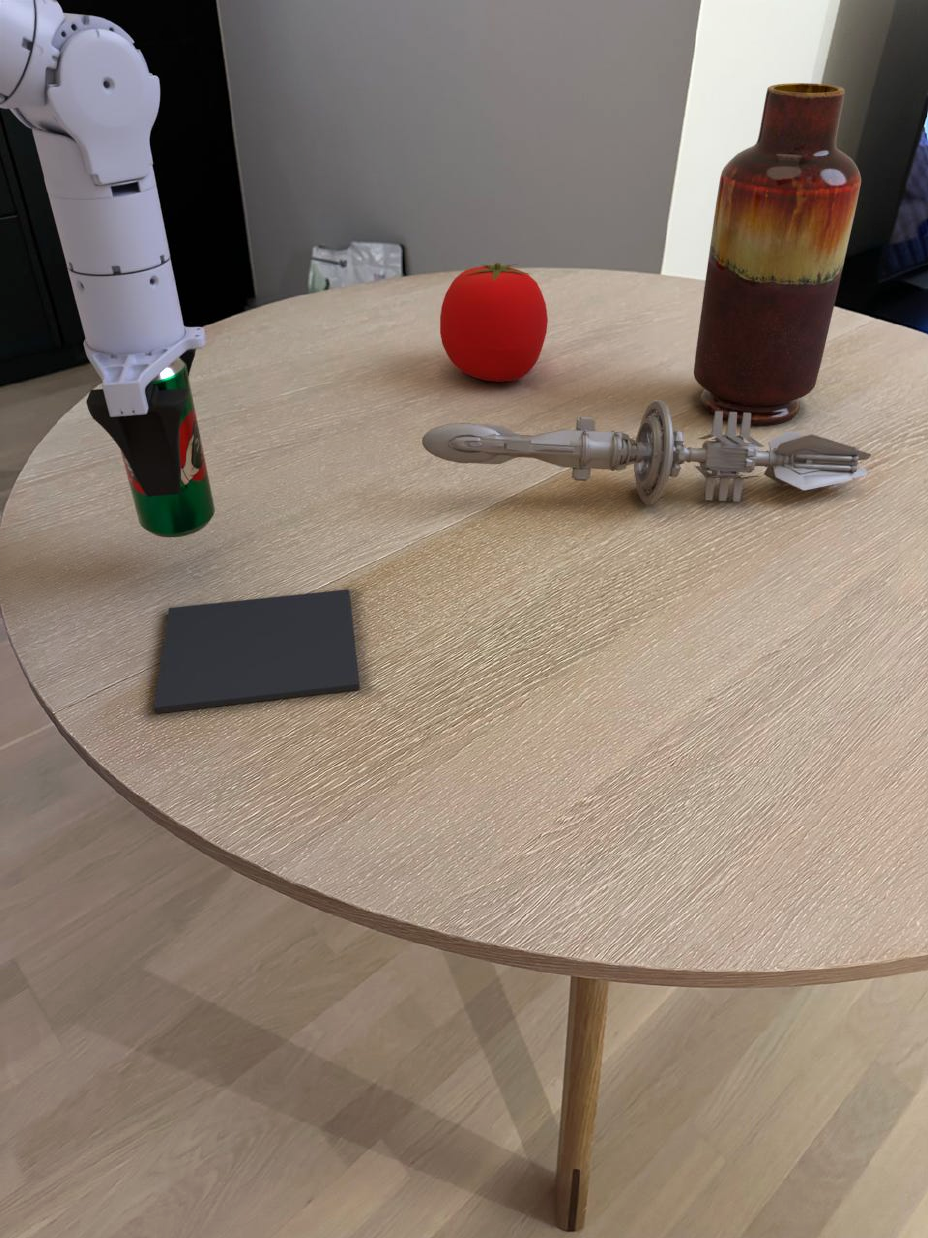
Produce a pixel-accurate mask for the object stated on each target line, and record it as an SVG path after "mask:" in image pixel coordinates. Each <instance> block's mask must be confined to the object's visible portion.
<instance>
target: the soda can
mask: <svg viewBox="0 0 928 1238" xmlns="http://www.w3.org/2000/svg"><path fill="white" fill-rule="evenodd" d="M152 383H153V387H154V386H155V385H157V386H158V390H173V389H186V388H187V389H188V394H187V399H186V403H185V406H184V409H183V413H182V416H181V421H180V458H181V484H180V491H179V494H174V495H163V496H151V497H148V496H147V495H146V494H145V492H144V491H143V489H142V488H141V486H140V484H139V482H138V480H137V479H136V477H135V475H134V473H133V471H132V469H131V467H130V465H129V463H128V461H127V460H126V458H125V456H124V454H123V452H122V451H121V449H120V448H119V451H120V453H121V457H122V461H123V465H124V469H125V472H126V476H127V481H128V485H129V488H130V492H131V496H132V500H133V504H134V508H135V511H136V512H135V513H136V515H137V519H138V523H139V525H140V527H141V528H143V529H144V530H146V531H147V532H148V533H150V534H152V535H154V536H156V537H159V538H160V537H161V538H168V539H169V538H170V539H171V538H181V537H186V536H189V535H193V534H195V533H197V532H199V531H201V530H203V529H205V527H206V526H207V525H209V523H210V522H211V520H212V519H213V517H214V515H215V512H216V508H215V502H214V498H213V493H212V488H211V482H210V477H209V472H208V468H207V462H206V458H205V457H206V456H205V453H204V448H203V443H202V442H203V441H202V438H201V431H200V428H199V421H198V418H197V413H196V408H195V402H194V398H193V393H192V388H191V383H190V376H189V377H188V372H187V367H186V364H185V362H184V361H183V360H182V359H181V358H180V357H179V358H177V359H176V360H175V361H174V362H173V363H172V364H170V365H169V366H168V367H167V368H166V369H165V370H163V371H162V372H161V373H160V374H159V375H158V376H156V377H155V378H154V379H153V380H152Z"/></svg>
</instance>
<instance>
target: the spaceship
mask: <svg viewBox="0 0 928 1238" xmlns="http://www.w3.org/2000/svg"><path fill="white" fill-rule="evenodd" d="M641 418H642V419H641V421H640V425H639V427H638V430H637V434H636V438H635V439H633V438H631V437H630V435H629V434H627V433H625V432H623V431H615V430H611V431H602V430H601V431H599V430H595V426H596V420H595V419H593V418H592V417H586V416H581V417H579V418H577V419H576V425H575V429H563V428H562V429H559V430H553V431H549V432H545V433H539V434H534V435H532V434H531V435H530V434H520V433H517V432H515V431H512V430H511V429H509V428H507V427H505V426H504V425H500V424H489V423H487V424H486V423H484V424H483V423H471V422H454V423H447V424H443V425H438V426H435V427H434V428H432V429H429V430H428V431H426V433H425V434H423V436H422V438H421V439H422V440H421V443H422V444H421V445H422V446H423V448H424V449H425V450H426V451H427V452H428V453H429V454H431V455H432V456H434V457H435V458H439V459H442V460H444V461H448V462H452V463H458V464H479V465H480V464H481V465H501V464H504V463H506V462H509V461H512V460H514V459H517V458H524V459H525V458H526V459H535V460H538V461H541V462H545V463H548V464H551V465H554V466H557V467H560V468H568V469H570V468H571V469H572V471H571V478H572V479H573V480H574V481H576V482H587V481H588V480H590V478H591V471H592V470H606V471H607V470H608V471H611V472H615V471H617V472H619V471H623V470H625V469H627V467H628V466H632V465H633V472H634V478H635V484H636V485H635V486H636V489H637V490H636V491H637V493H638V497H639V498H640V500H641V502H643V504H645V505H648V506H651V505H653V504H655V503H657V502H658V501H659V500H660V498H661V497H662V495H663V493H664V490H665V488H666V486H667V483H668V481H669V479H670V477H671V478H677V477H678V476H679V474H680V472H681V469H682V467H681V466H680V465H682V464H685V462H686V463H691V462H692V463H698V464H699V465H694V466H693V467H694V468H695V469H696V470H697V471H698V472H699V473H701V475H703V477H704V478H705V482H704V484H705V486H704V500H705V501H713V497H714V490H715V487H716V481H717V479H719V485H718V499H717V500H718V501H720V502H727V498H728V492H729V488H730V487H729V486H730V482H731V480H732V479H733V482H732V498H731V501H732V502H737V503H738V502H739V503H740V502H741V497H742V492H743V488H744V487H743V486H744V482H745V480H749V479H753V478H754V479H755V478H760V475H748V476H747V475H745V473H750V474H751V473H752V472H753V471H754V470H755V468H756V467H764V468H765V471H764V473H763V475H764V476H766V478H769V479H770V480H772V481H774V482H775V483H776V484H779V485H780V486H786V485H790V486H793V487H794V488H796V489H798V490H800V491H802V492H806V491H810V490H815V489H819V488H824V487H828V486H834V485H837V484H842V483H847V482H850V481H851V480H855V479H857V478H862V477H867V476H868V474H869V473H868V470H867V469H866V468H864V467H860V466H858V463H859V461H865V460H868V459H869V458H871V456H872V454H871V453H870V452H866V451H863V450H861V449H860V448H859V447H856V446H852V445H849V444H847V443H843V442H840V441H837V440H834V439H830V438H827V437H824V436H820V435H817V434H815V433H810V434H802V433H799V432H795V431H792V430H788V431H786V432H784V433H782V434H780V435H778V436H776V437H774V438H772V439H769V440H768V441H767V442H768V447H769V450H758V448H765V446H764V445H763V444H762V443H760V442H759V441H757V440H756V439H754V437H753V436H751V426H752V425H751V413H743V418H742V423H741V424H740V429H739V435H737V424H738V423H737V412H729V417H728V421H726V423H727V424H726V427H725V433H724V434H722V433H723V421H724V420H723V411H715V415H714V416H713V421H712V427H711V432H710V433H708V434H707V435H704V436H702V437H698V438H697V440H705V441H704V442H703V443H702V446H701V447H699V448H697V447H696V448H694V447H693V448H692V447H691V446H688V447H687V446H686V445H684V444H683V443H684V442H685V437H684V433H683V432H682V431H681V430H674V428H673V427H674V426H673V422H672V418H671V414H670V410H669V408H668V406H667V404H666V403H665V402H664V401H662V400H659V399H656V400H654V401H652V402H650V403H649V405H647V407H646V409H645V411H644V413H643V416H642V417H641ZM707 439H710V440H707ZM744 440H746V441H748V442H745V441H744ZM710 472H711V473H710ZM740 473H744V474H740Z"/></svg>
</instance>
